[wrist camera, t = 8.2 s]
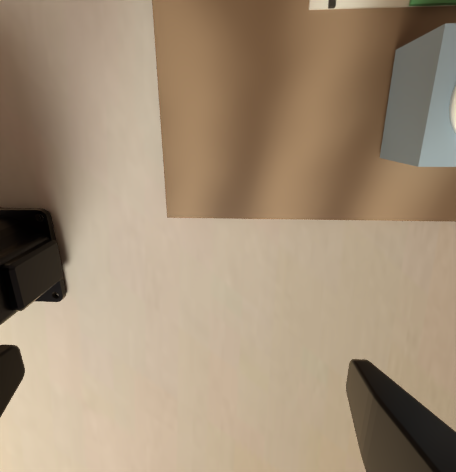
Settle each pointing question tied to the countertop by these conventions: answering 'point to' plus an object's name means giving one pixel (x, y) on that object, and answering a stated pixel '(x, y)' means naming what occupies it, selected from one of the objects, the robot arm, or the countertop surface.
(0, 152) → the countertop surface
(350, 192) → the gauge board
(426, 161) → the force gauge
